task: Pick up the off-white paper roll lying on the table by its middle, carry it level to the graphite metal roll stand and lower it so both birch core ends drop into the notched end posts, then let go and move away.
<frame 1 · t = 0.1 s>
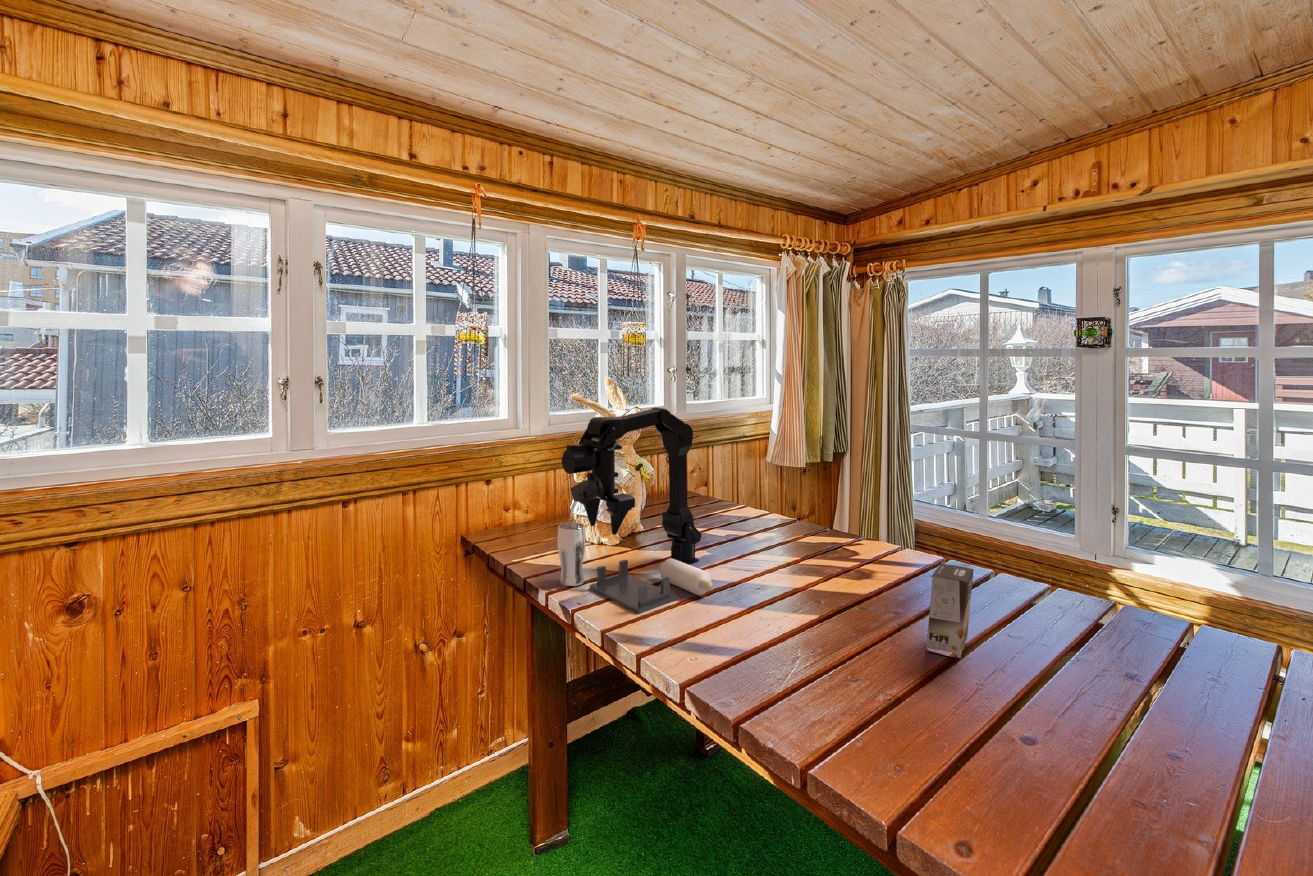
hand: (603, 530, 151), 15 cm above the table, tool pointing down, fingers open, 9 cm apart
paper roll: (684, 587, 153), on the table
coffee box: (946, 648, 123), on the table
roll stand: (632, 594, 148), on the table
beer glass: (571, 583, 155), on the table
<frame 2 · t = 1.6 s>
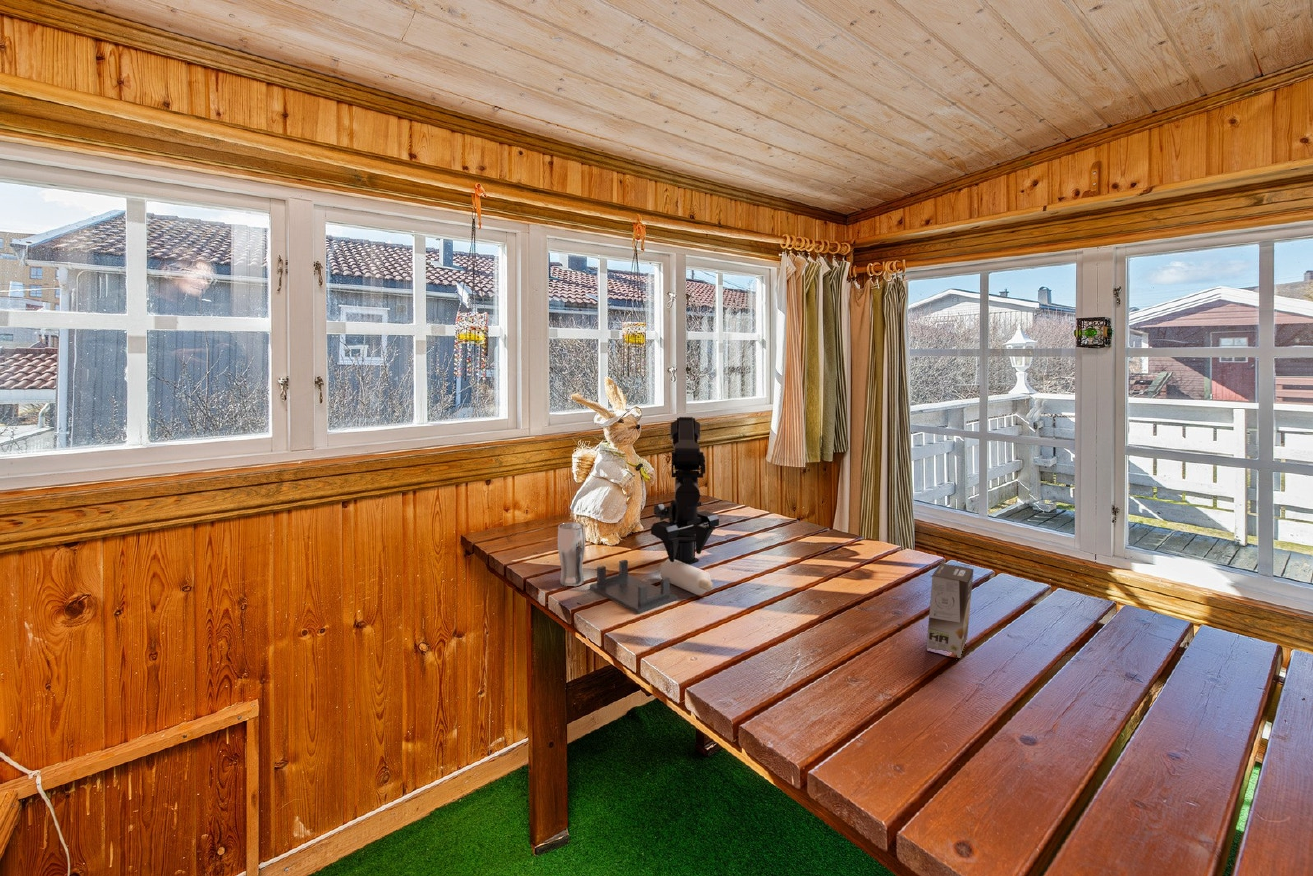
hand: (685, 557, 152), 8 cm above the table, tool pointing down, fingers open, 9 cm apart
nothing on the table moved.
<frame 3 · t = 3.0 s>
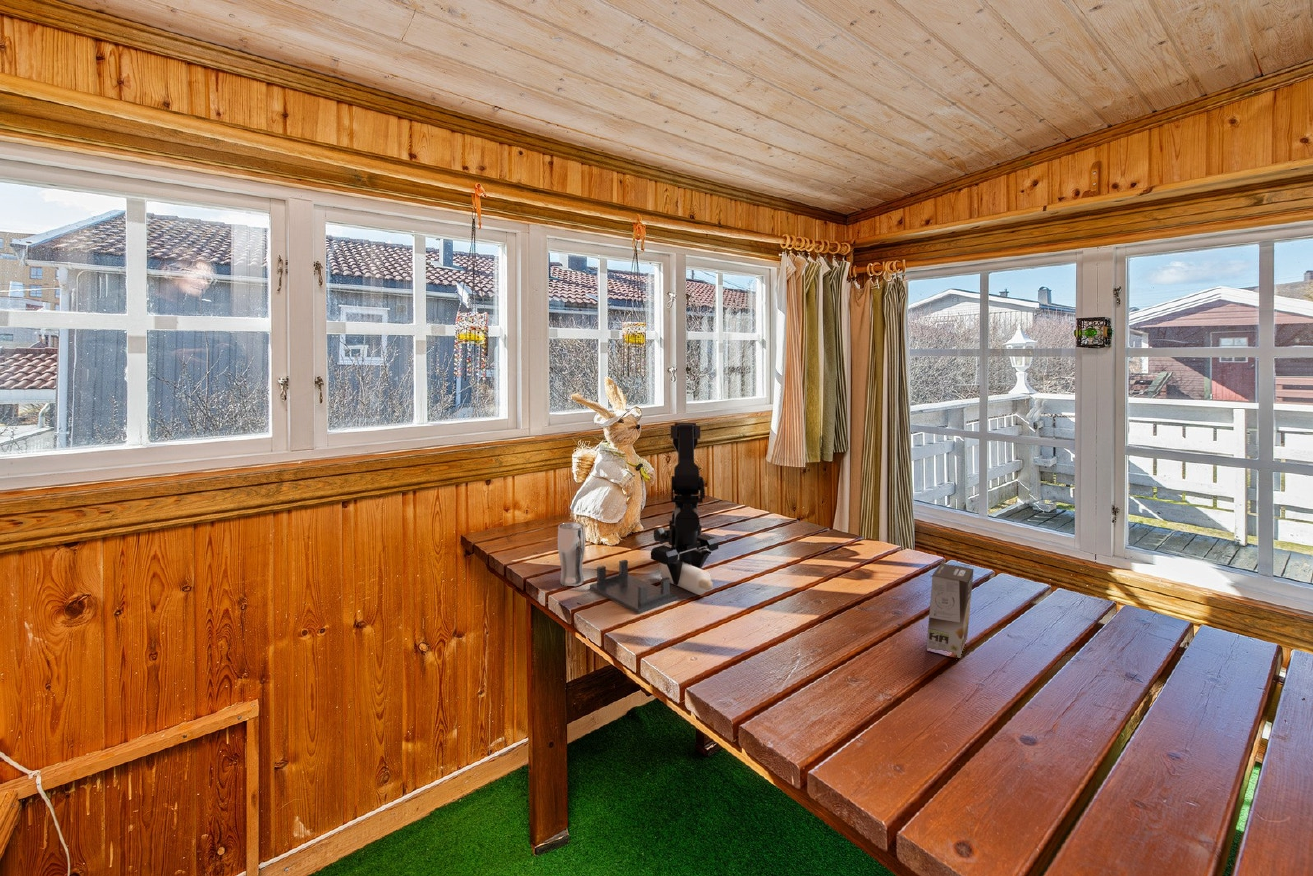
hand: (684, 581, 153), 2 cm above the table, tool pointing down, fingers closed on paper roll, 6 cm apart
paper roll: (684, 587, 153), on the table, touching gripper
everything else where it was.
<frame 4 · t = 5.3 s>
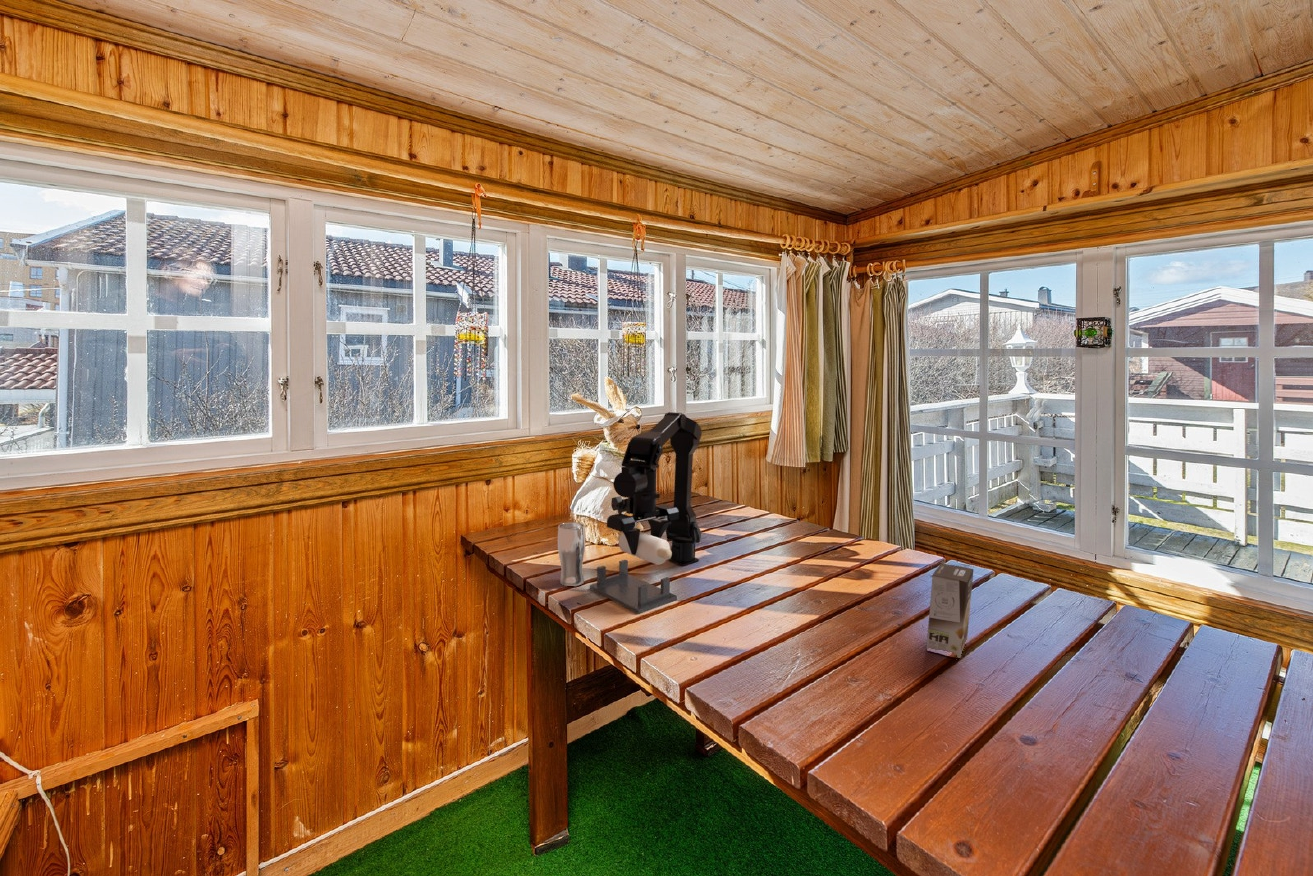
hand: (643, 551, 147), 11 cm above the table, tool pointing down, fingers closed on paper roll, 6 cm apart
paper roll: (643, 557, 147), point 9 cm above the table, touching gripper
everything else where it was.
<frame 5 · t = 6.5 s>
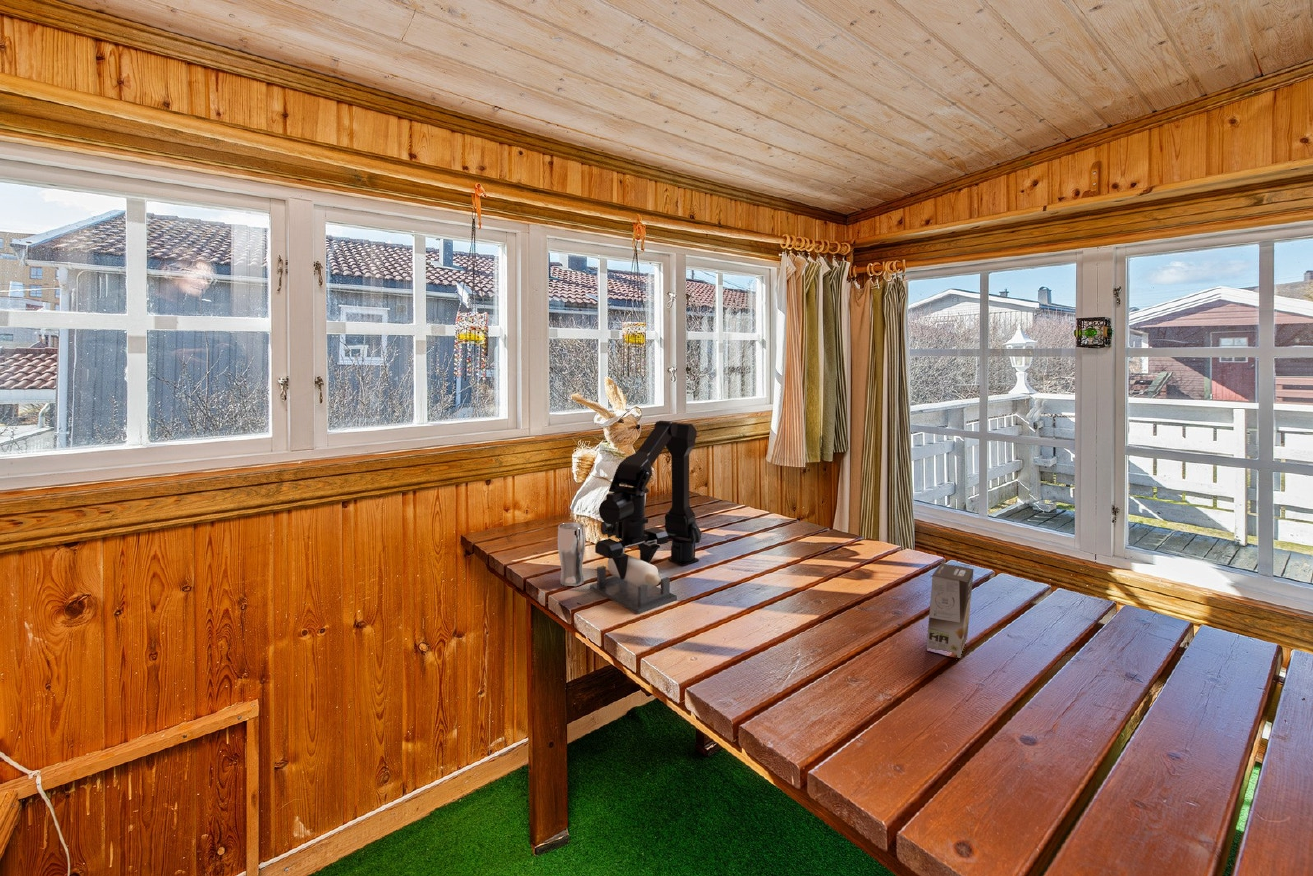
hand: (632, 576, 148), 5 cm above the table, tool pointing down, fingers closed on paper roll, 6 cm apart
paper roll: (632, 582, 148), point 3 cm above the table, touching gripper
everything else where it was.
when the fingers open (4 cm above the table, at t = 7.5 s): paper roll drops 1 cm, resting on roll stand.
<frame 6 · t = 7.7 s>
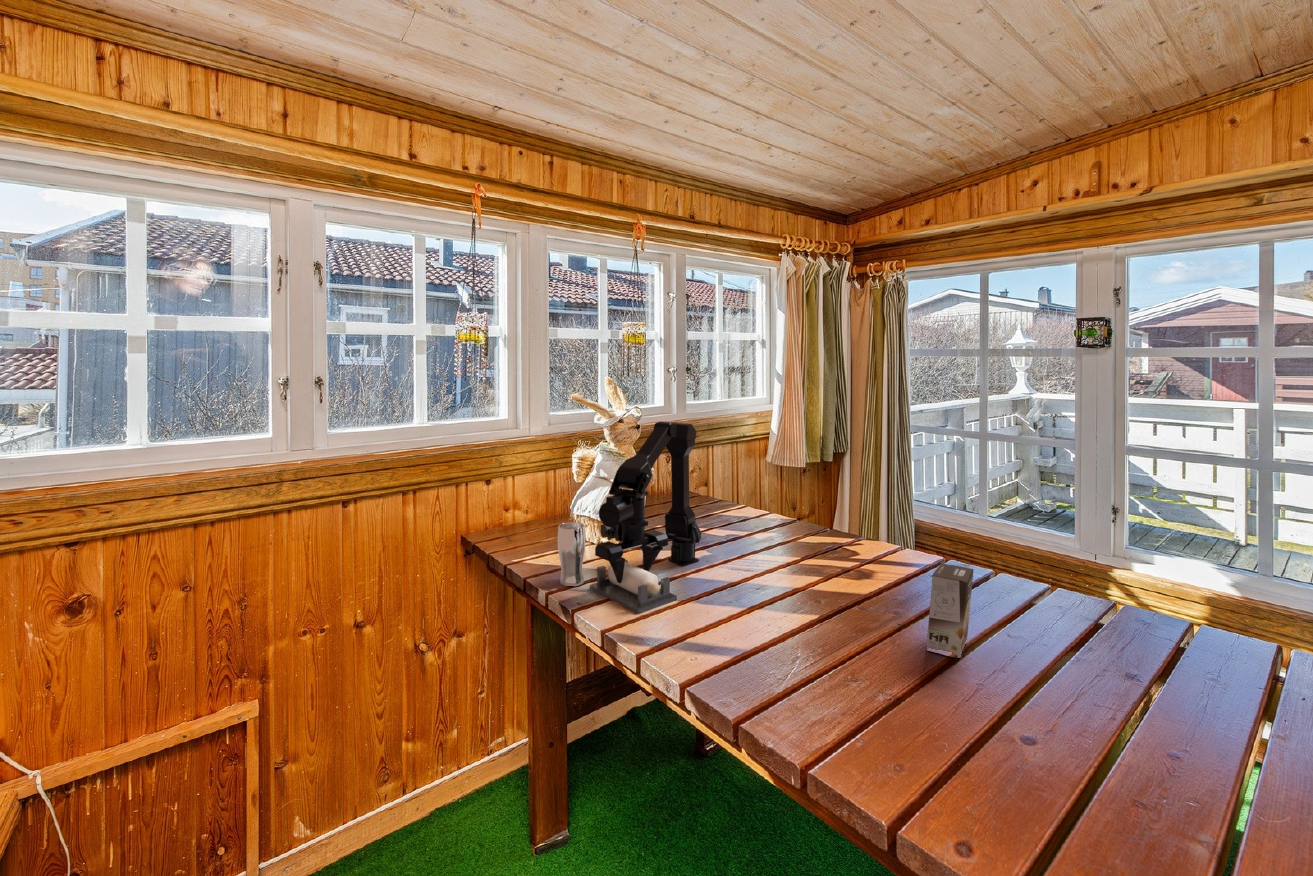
hand: (632, 578, 148), 4 cm above the table, tool pointing down, fingers open, 8 cm apart
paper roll: (632, 590, 148), point 1 cm above the table, touching roll stand
everything else where it was.
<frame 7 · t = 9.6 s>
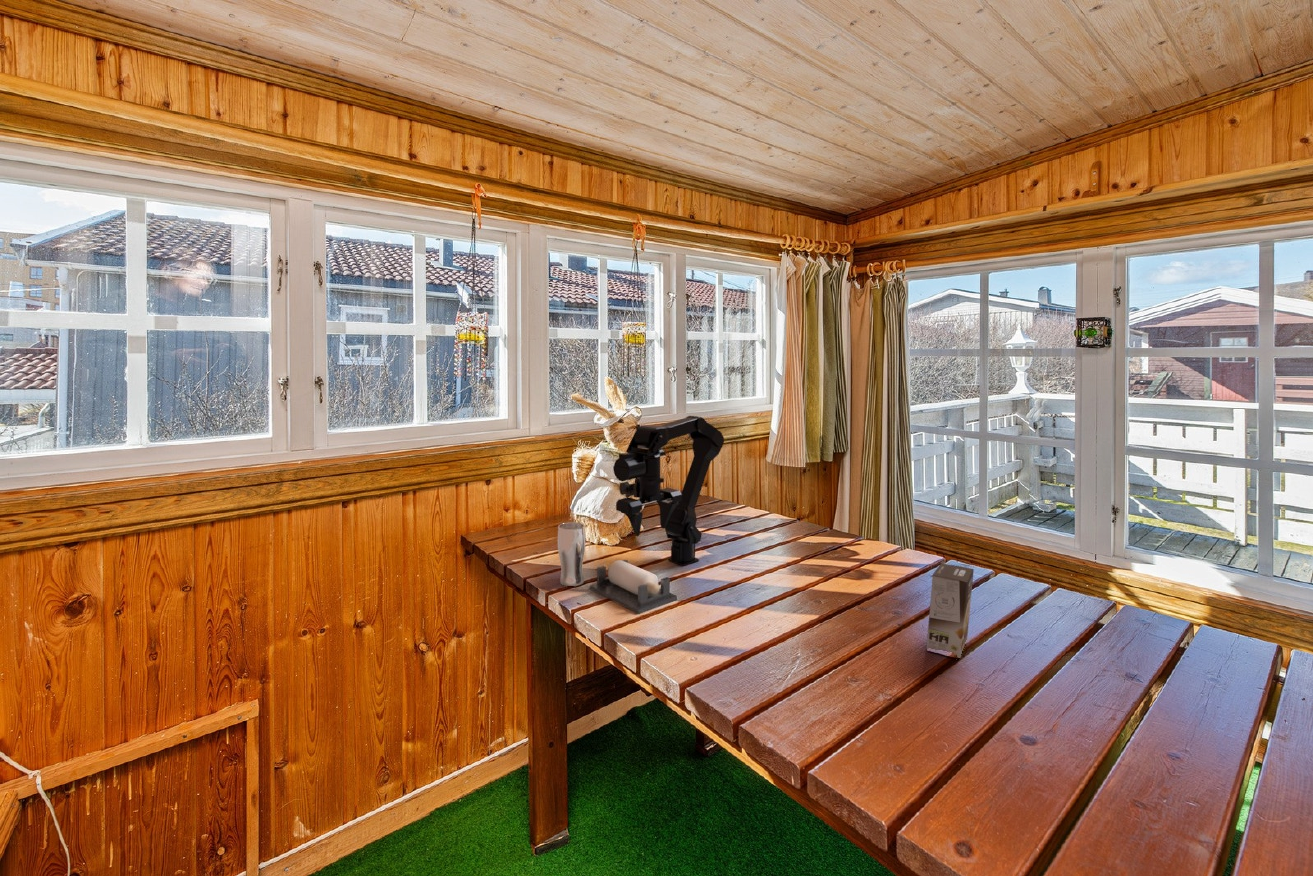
hand: (650, 531, 160), 12 cm above the table, tool pointing down, fingers open, 9 cm apart
nothing on the table moved.
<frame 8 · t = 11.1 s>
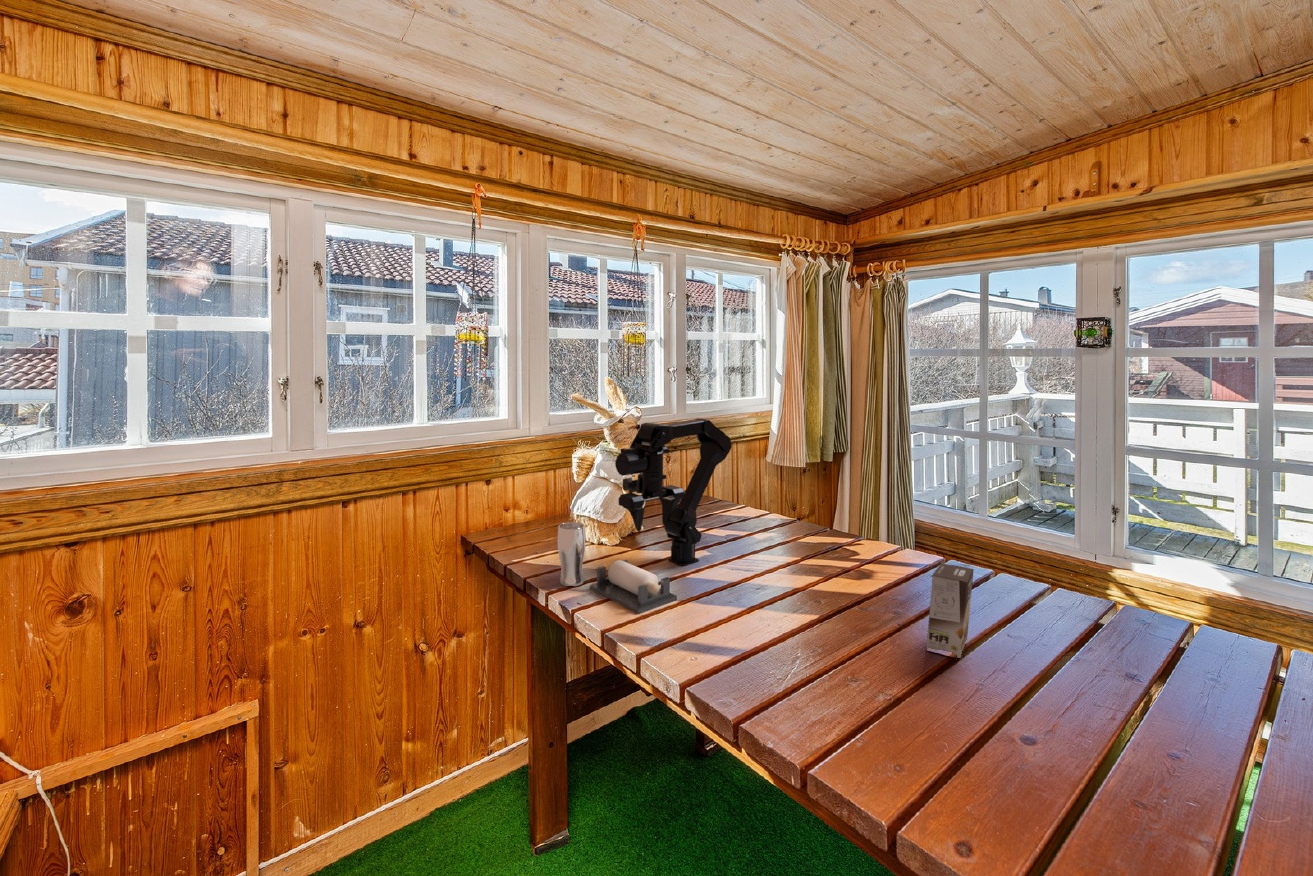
hand: (651, 527, 162), 12 cm above the table, tool pointing down, fingers open, 9 cm apart
nothing on the table moved.
at the end: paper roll 0.1 cm off-centre on the roll stand, point 1.0 cm above the roll stand's base; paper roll touching roll stand; the gripper is holding nothing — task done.
